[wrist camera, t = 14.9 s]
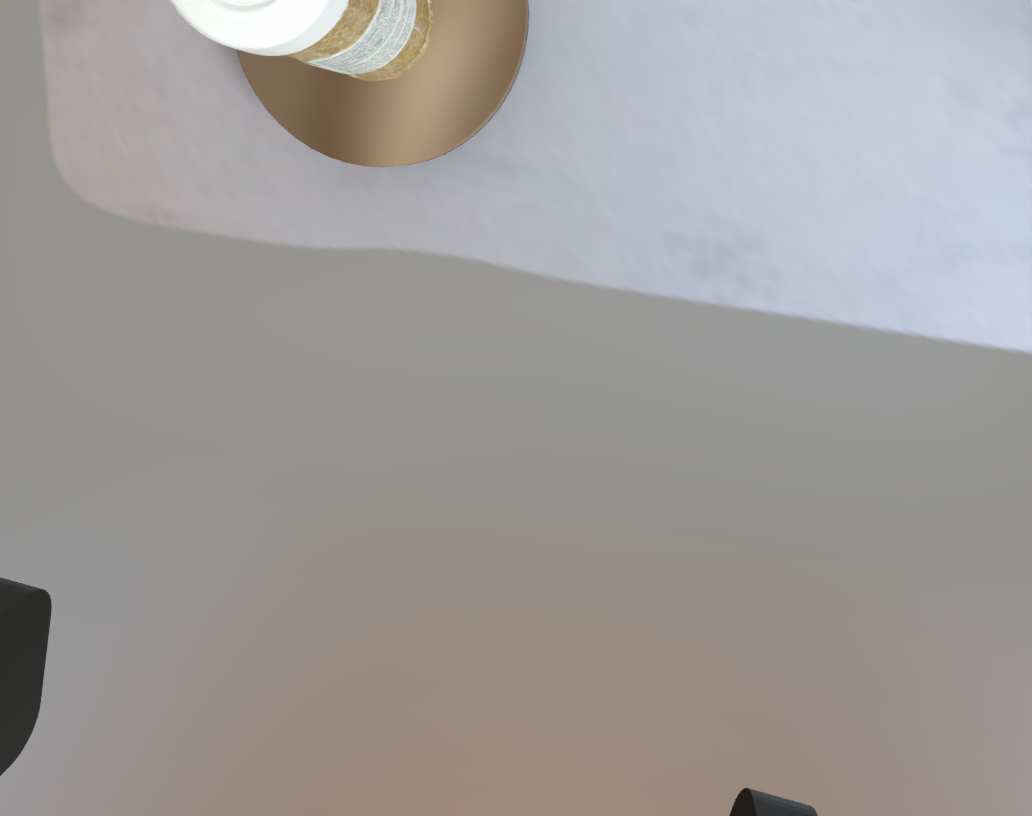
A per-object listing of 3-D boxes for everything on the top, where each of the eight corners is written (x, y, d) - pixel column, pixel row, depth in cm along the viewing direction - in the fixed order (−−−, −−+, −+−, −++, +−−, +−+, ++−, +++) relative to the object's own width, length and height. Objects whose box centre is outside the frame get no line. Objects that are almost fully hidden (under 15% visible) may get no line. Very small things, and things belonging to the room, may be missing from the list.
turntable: (561, -105, 34) (558, -117, 33) (490, 196, 38) (485, 198, 36) (270, -177, 35) (254, -192, 33) (224, 127, 38) (207, 126, 36)
